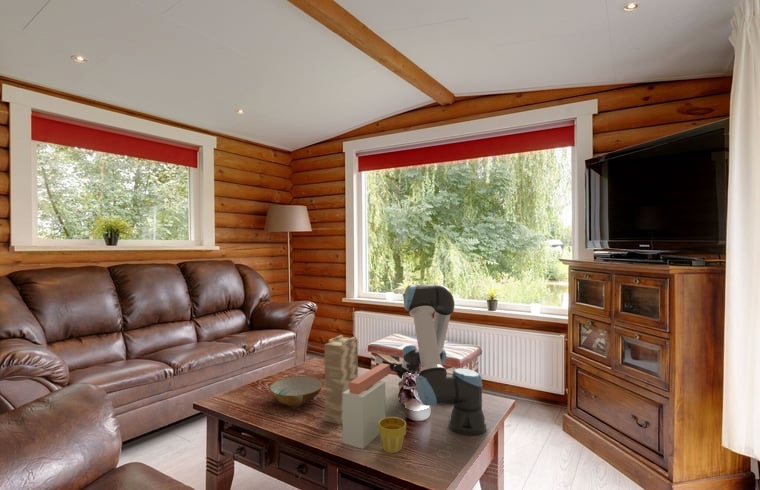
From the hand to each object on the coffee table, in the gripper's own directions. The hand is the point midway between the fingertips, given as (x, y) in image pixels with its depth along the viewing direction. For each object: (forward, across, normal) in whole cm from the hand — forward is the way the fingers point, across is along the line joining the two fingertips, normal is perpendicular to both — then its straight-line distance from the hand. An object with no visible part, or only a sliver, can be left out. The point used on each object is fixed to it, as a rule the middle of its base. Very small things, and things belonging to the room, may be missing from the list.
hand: (389, 361), depth 178 cm
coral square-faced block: (+12, 0, -12) cm, 17 cm away
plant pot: (+9, -14, -33) cm, 37 cm away
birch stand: (-3, +18, -26) cm, 32 cm away
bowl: (-5, +46, -25) cm, 53 cm away
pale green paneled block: (+6, 0, -31) cm, 32 cm away
